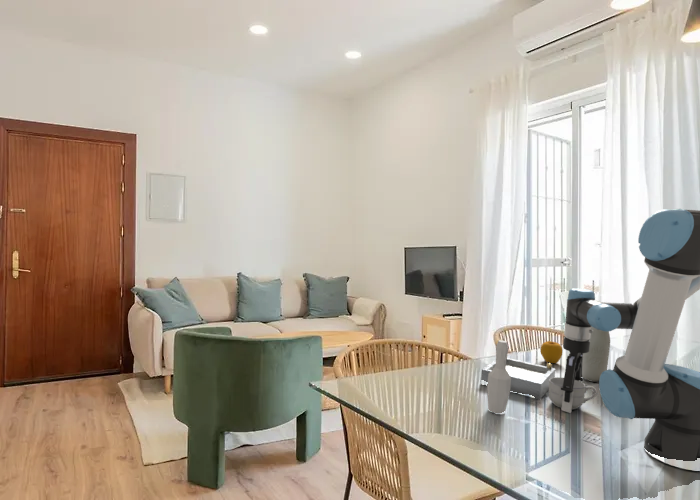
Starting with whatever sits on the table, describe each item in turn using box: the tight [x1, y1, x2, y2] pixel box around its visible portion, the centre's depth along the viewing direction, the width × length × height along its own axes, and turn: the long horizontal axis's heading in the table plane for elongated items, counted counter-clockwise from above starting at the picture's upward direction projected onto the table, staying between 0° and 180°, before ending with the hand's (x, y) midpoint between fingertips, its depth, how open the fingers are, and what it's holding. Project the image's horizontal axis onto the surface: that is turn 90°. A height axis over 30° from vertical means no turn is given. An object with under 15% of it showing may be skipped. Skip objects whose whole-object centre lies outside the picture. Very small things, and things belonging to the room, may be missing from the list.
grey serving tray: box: [480, 357, 556, 401], centre depth 174 cm, size 20×20×7 cm
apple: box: [540, 340, 564, 364], centre depth 201 cm, size 9×8×9 cm
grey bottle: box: [581, 326, 611, 383], centre depth 181 cm, size 10×10×28 cm
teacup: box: [548, 376, 598, 410], centre depth 156 cm, size 14×11×8 cm
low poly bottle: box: [486, 339, 511, 413], centre depth 148 cm, size 6×6×22 cm
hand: (570, 405), depth 156 cm, fingers closed on teacup, 11 cm apart
